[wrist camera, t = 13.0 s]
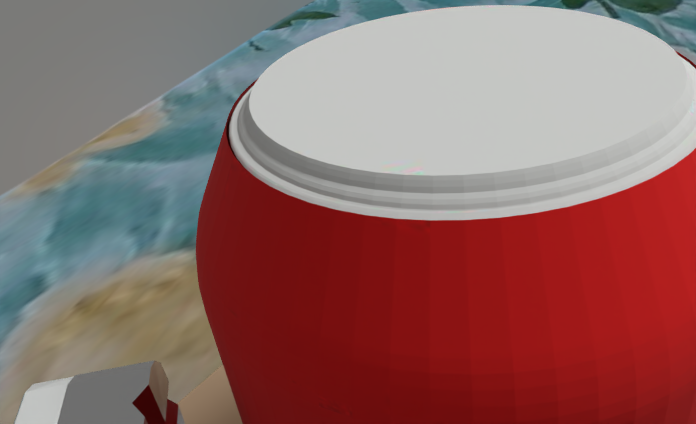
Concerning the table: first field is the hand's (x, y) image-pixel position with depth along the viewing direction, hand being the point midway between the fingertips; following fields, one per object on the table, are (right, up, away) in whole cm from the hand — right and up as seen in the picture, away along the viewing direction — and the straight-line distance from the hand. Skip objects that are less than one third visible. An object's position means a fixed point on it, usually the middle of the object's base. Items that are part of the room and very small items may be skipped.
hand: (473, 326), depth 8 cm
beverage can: (+1, -7, +5) cm, 9 cm away
